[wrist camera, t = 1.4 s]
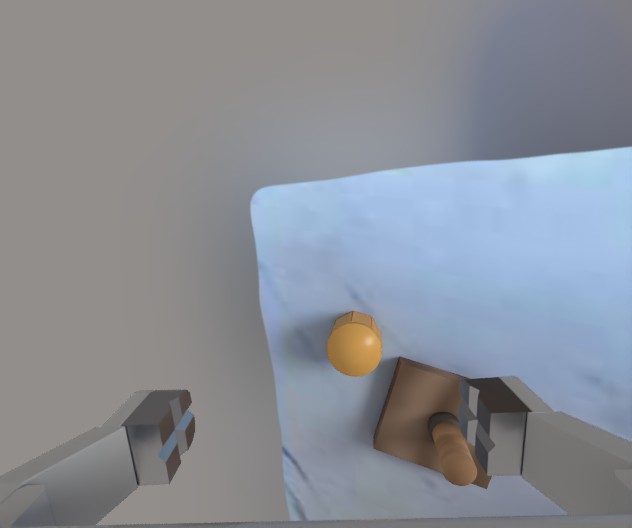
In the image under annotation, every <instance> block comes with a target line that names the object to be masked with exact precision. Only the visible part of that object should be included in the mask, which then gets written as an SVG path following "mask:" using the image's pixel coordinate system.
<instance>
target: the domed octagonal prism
mask: <svg viewBox="0 0 632 528" xmlns="http://www.w3.org/2000/svg"><path fill="white" fill-rule="evenodd" d="M327 354H328V358H329V360H330V362H331V364H332V365H333V366H334V367H335V368H336V369H337V370H338V371H340V372H341V373H343V374H345V375H349V376H363V375H366V374H368V373H370V372H372V371H373V370H374V369H375V368H376V367H377V365H378V364H379V362H380V359H381V355H382V336H381V332H380V330H379V328H378V326H377V325H376V323H375V321H374V319H373V318H371V316H368V315H365V314H362V313H358V312H355V311H353V312H350V313H348V314H346V315H344V316H342V317H340V318H338V319H337V320H336V321H335V324H334V327H333V330H332V333H331V335H330V337H329V340H328V343H327Z"/></svg>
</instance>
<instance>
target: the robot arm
mask: <svg viewBox="0 0 632 528" xmlns="http://www.w3.org/2000/svg"><path fill="white" fill-rule="evenodd" d="M459 393H460V395H461V396H462V398H463V401H462V402H461V403H460V404H459V406H458V418H459V423H460V427H461V430H462V433H463V435H464V437H465V438H466V440H467V442H469V443H470V444H472V445H473V446H475V456H476V457H477V459H478V461H479V463H480V464H481V466H482V468H483V469H484V471H485V473H486V474H487V476H522V478H523V479H524V480H526V481H527V482H528V483H530V484H531V485H532V486H533V487H535V488H536V489H537V490H539V491H540V492H541V493H543V494H544V495H545V496H546V497H548V498H549V499H550V500H552V501H553V502H554V503H555V504H557V505H558V506H559V507H561V508H562V509H563V510H564V511H566V512H567V513H568V514H570V515H562V516H515V517H468V518H422V519H375V520H324V521H271V522H231V523H230V522H225V523H180V524H134V525H96V524H97V523H98V522H99V521H100V520H101V519H102V518H104V517H105V516H106V515H107V514H108V513H109V512H111V511H112V510H113V509H114V508H115V507H116V506H117V505H119V504H120V503H121V502H122V501H123V500H124V499H125V498H127V497H128V496H129V495H130V494H131V493H132V492H133V491H135V490H136V489H137V488H138V486H142V485H160V484H170V482H171V480H172V478H173V476H174V475H175V473H176V471H177V469H178V467H179V465H180V464H181V460H180V456H181V455H182V454H183V453H185V452H186V451H187V450H188V449H189V447H190V445H191V443H192V441H193V437H194V432H195V419H194V415H193V414H192V413H191V412H190V411H189V410H188V408H189V406H190V404H191V403H192V401H191V396H190V392H188V390H146V391H137V392H135V393H134V394H133V395H132V396H131V397H130V398H129V399H128V400H127V401H126V402H125V403H124V404H123V405H122V406H121V407H120V408H119V409H118V410H117V411H116V412H115V413H114V414H113V415H112V416H111V417H110V418H109V419H108V420H107V421H106V422H105V423H104V424H103V425H102V426H101V427H95V428H93V429H91V430H89V431H87V432H85V433H83V434H81V435H79V436H77V437H76V438H73V439H71V440H69V441H68V442H66V443H64V444H62V445H60V446H58V447H56V448H54V449H52V450H50V451H48V452H46V453H44V454H42V455H40V456H38V457H36V458H34V459H32V460H30V461H29V462H27V463H25V464H23V465H21V466H19V467H17V468H15V469H13V470H11V471H9V472H7V473H5V474H3V475H1V476H0V528H632V442H631V441H628V440H626V439H624V438H621V437H619V436H617V435H614V434H612V433H610V432H607V431H605V430H603V429H600V428H598V427H596V426H593V425H591V424H589V423H586V422H584V421H582V420H579V419H577V418H575V417H572V416H570V415H568V414H565V413H563V412H561V411H559V412H555V411H553V410H552V409H551V408H550V407H549V406H548V405H547V404H546V403H545V402H544V401H543V400H542V399H541V398H539V397H538V396H537V395H536V394H535V393H534V392H533V391H532V390H531V389H530V388H529V387H528V386H527V385H525V384H524V383H523V382H522V381H521V380H520V379H519V378H518V377H515V376H505V377H494V378H478V379H461V381H460V384H459Z"/></svg>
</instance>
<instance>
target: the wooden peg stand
mask: <svg viewBox="0 0 632 528" xmlns="http://www.w3.org/2000/svg"><path fill="white" fill-rule="evenodd" d="M461 379H469V378H466V377H463V376H460V375H457V374H454V373H450V372H447V371H444V370H441V369H438V368H434V367H431V366H428V365H425V364H422V363H418V362H415V361H412V360H409V359H406V358H403V357H399V360H398V364H397V367H396V370H395V373H394V376H393V379H392V382H391V385H390V388H389V391H388V395H387V398H386V401H385V404H384V407H383V410H382V413H381V416H380V419H379V423H378V426H377V429H376V432H375V435H374V449H377V450H379V451H382V452H385V453H388V454H391V455H393V456H396V457H399V458H402V459H405V460H407V461H410V462H413V463H416V464H418V465H421V466H424V467H427V468H430V469H432V470H435V471H438V472H441V473H443V474H444V476H445V478H446V479H447V480H448V481H449V482H451V483H452V484H455V485H459V486H464V485H468V484H470V483H472V484H474V485H477V486H480V487H483V488H486V489H487V487H488V484H489V482H490V479H491V477H492V476H487V474H486V473H485V471H484V469H483V468H482V466H481V464H480V463H479V461H478V459H477V457H476V456H475V446H473V445H472V444H470V443H469V442H467V440H466V438H465V437H464V435H463V433H462V430H461V427H460V423H459V418H458V406H459V404H460V403H461V402H462V401H463V398H462V396H461V395H460V393H459V384H460V381H461Z"/></svg>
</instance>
